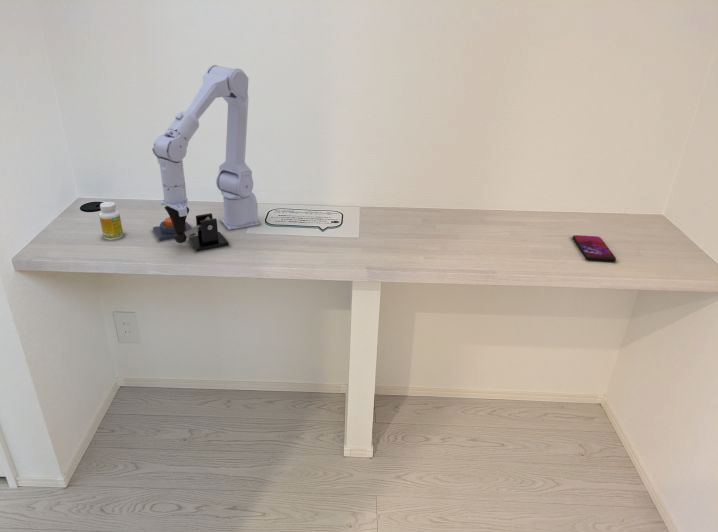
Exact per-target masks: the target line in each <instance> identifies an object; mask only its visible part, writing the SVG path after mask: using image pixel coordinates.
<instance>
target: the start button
mask: <svg viewBox="0 0 718 532" xmlns="http://www.w3.org/2000/svg"><path fill="white" fill-rule="evenodd" d="M164 221H165V225H166V226H167V227H173V224H172V221H171V219H170V216H168V217H166V218H165V219H164Z"/></svg>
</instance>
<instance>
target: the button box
mask: <svg viewBox="0 0 718 532" xmlns="http://www.w3.org/2000/svg"><path fill="white" fill-rule="evenodd" d="M192 228H193V227H191V226H190V224H189V223H188V221H185V229H184V232H186V231H188V230H190V229H192ZM152 231H153V233H154V234H155V236H156V238H157V239H158V241H159V242H162V241H163V242H164V241H170V240H173V239H174V240H175V238H174V236H175V234H176V232H175V230H174V227H167V226H166V225H165V220H163V221H161V222H160V223H159V226H153V227H152ZM192 236H195V233H193V234H192V235H190V236H189V237H192Z"/></svg>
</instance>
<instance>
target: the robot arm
mask: <svg viewBox="0 0 718 532" xmlns="http://www.w3.org/2000/svg"><path fill="white" fill-rule="evenodd" d="M218 98H222V99H223V100H224V101H225V102H226V103H227V119H226V139H225V140H226V141H225V142H226V143H225V161H224V162H223V163H221V164H220V165H219V166H218V173H217V176H216V178H215V179H216V180H215V184H216V187H217V189H218V190H219V191H220V194H221V195H222V197H223V210H224V211H223V212H224V218H221V219H220V221H221V223H222V224H223V225H224V227H226V228H227V230H229V231H231V230H236V229H237V230H238V229H241V228H248V227H254V226H259V225H260V222H259V213H258V200H257V197H256V195H255V193H254V192H253V189H254V180H253V171H252V170H251V168H250V167H249V165H247V163H246V150H247V149H246V148H247V131H248V113H249V76H247V74H246V73H245V71H244V70H242V69H241V68H239V67H238V68H233V67H226V66H220V65H217V64H213V65H211V66H209V67H208V68H207V70H206V72H205V73H204V74H203V76H202V84H201V85H200V87H199V90H198V91H197V93H196V95H195V96H194V98H193V100H192V101H191V103H190V105H189V106H188V107H187V110H183V111H180V112H179V113H176V115H175V117H174V118H175V119H174V120H173V121H172V123H171V124H170V126H169V127H168V128H167V129H166V130H165V133H164V134H161V135H159V136H158V137H157V138H156V139H155V140H154V142H153V147H152V148H151V150H152V154H153V155H154V156H155V157H156V159H157V164H159V170H160V178H161V185H162V193H163V199H162V200H159V204H160V206H164V209H165V211H166V213H167V215H168V217H170V219H171V221H172V224H173V227H174V230H175V232H176V233H177V234H178V233H183V232H184V229H185V222H187V216H188V215H189V213H190V208H189V207H188V203H189V199H188V197H187V189H186V187H187V186H186V179H185V171H184V161H183V159H184V158H186V157H187V152H188V146H189V142H190V141H191V139H192V138H193V136H194V135H195V133H196V132H197V131H198V129H199V128H200V122H199V119H200V118H201V117H202V116H203V114H205V112H206V111H207V110H208V108H209V107H210V106H211V105H212V103H213V102H214V101H215V100H216V99H218Z"/></svg>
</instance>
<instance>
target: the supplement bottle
mask: <svg viewBox="0 0 718 532" xmlns="http://www.w3.org/2000/svg"><path fill="white" fill-rule="evenodd" d="M116 207H117V206H116V203H115V202H113V201H104V202H101V203H100V204H99V208H100V211H99V214H98V216H99V221H100V227H101V232H102V237H103V239H105V240H107V241H115V240H119V239H121V238H123V236H124V231H123V225H122V220H121V214H120V211H119V210H118V209H117V208H116Z"/></svg>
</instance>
